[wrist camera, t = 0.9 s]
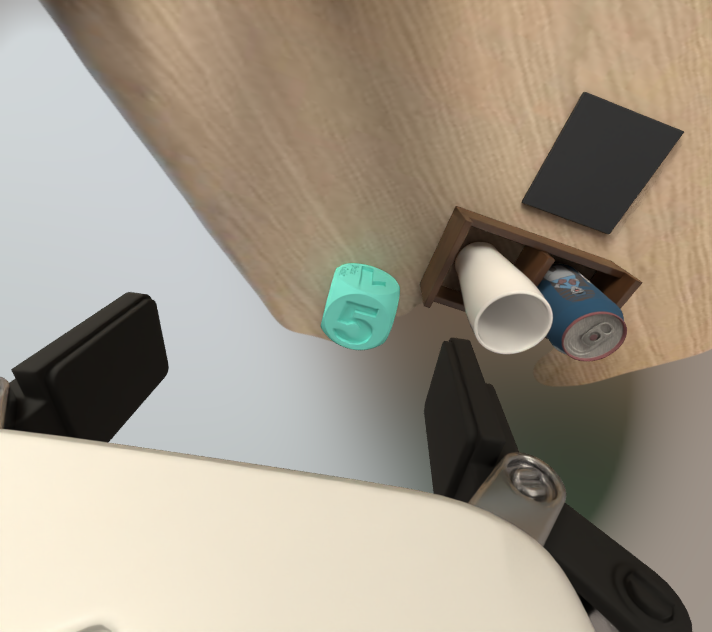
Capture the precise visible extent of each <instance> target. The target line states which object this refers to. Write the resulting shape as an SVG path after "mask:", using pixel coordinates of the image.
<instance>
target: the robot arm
mask: <svg viewBox="0 0 712 632" xmlns="http://www.w3.org/2000/svg"><path fill="white" fill-rule="evenodd" d="M168 368H169V367H168V360H167V356H166V350H165V345H164V340H163V335H162V330H161V325H160V320H159V315H158V310H157V305H156V303H155V301H154V300H152V299H151V297H150V296H149V295H147V294H140V293H132V292H128V293H125V294H124V295H122V296H121V297H119V298H118V299H116V300H115V301H113V302H112V303H110V304H109V305H108V306H106V307H104V308H103V309H101V310H100V311H98V312H97V313H95V314H94V315H92V316H91V317H89V318H88V319H86V320H85V321H83V322H82V323H80V324H79V325H77V326H76V327H74V328H73V329H71V330H70V331H68V332H67V333H65V334H64V335H62V336H61V337H59V338H58V339H56V340H55V341H53V342H52V343H50V344H49V345H47V346H46V347H45V348H43V349H41V350H40V351H38V352H37V353H35V354H34V355H32V356H31V357H29V358H28V359H26V360H25V361H23V362H22V363H20V364H19V365H17V366H16V367H14V368H13V369H12V372H13V374H14V376H15V378H16V379H14V380H13V381H12V382H10V383H9V382H8V381H7V380H6V379H4V378H3V377H0V632H692V623H691V620H690V617H689V615H688V612H687V610H686V608H685V606H684V605H683V603H682V601H681V600H680V598H679V597H678V595H677V594H676V593H675V591H674V590H673V589H672V588H671V587H670V586H669V584H668V583H667V582H666V581H665V580H663V579H662V578H661V577H660V576H659V575H658V574H657V573H656V572H654V571H653V570H652V569H651V568H649V567H648V566H647V565H645V564H644V563H643V562H641V561H640V560H639V559H638V558H636V557H635V556H633V555H632V554H631V553H630V552H628V551H627V550H626V549H625V548H623V547H622V546H621V545H619V544H618V543H617V542H616V541H614V540H613V539H611V538H610V537H609V536H608V535H606V534H605V533H604V532H603V531H601V530H600V529H599V528H597V527H596V526H595V525H593V524H592V523H591V522H589V521H588V520H587V519H586V518H584V517H583V516H582V515H580V514H579V513H578V512H577V511H575V510H574V509H573V508H571V507H570V506H569V505H567V504H566V503H565V499H566V490H565V486H564V484H563V482H562V480H561V479H560V477H559V476H558V474H557V473H556V472H555V471H554V470H553V469H552V468H551V467H550V466H549V465H547V464H546V463H545V462H544V461H542V460H540V459H538V458H536V457H534V456H532V455H529V454H526V453H519V451H518V448H517V445H516V443H515V440H514V438H513V435H512V433H511V430H510V427H509V425H508V423H507V420H506V417H505V415H504V412H503V410H502V407H501V404H500V402H499V399H498V397H497V394H496V391H495V389H494V387H493V386H492V385H491V384H487V383H485V381H484V378H483V376H482V373H481V370H480V367H479V365H478V362H477V359H476V356H475V354H474V351H473V348H472V345H471V342H470V341H469V340H465V339H458V338H450V340H449V342H448V341H444V342H443V344H442V347H441V351H440V354H439V357H438V361H437V364H436V367H435V371H434V374H433V378H432V381H431V385H430V388H429V392H428V395H427V399H426V402H425V409H424V415H425V424H426V432H427V441H428V449H429V457H430V466H431V474H432V482H433V491H434V494H432V493H427V492H423V491H418V490H413V489H408V488H402V487H396V486H390V485H384V484H378V483H373V482H367V481H361V480H355V479H348V478H342V477H335V476H329V475H323V474H316V473H309V472H303V471H296V470H290V469H284V468H277V467H271V466H263V465H257V464H251V463H244V462H237V461H231V460H224V459H217V458H211V457H204V456H197V455H190V454H183V453H177V452H170V451H163V450H156V449H149V448H142V447H135V446H128V445H121V444H114V443H108V442H109V441H110V440H111V439H112V438H113V436H114V435H115V434H116V433H117V432H118V431H119V430H120V428H121V427H122V426H123V425H124V424H125V423H126V421H127V420H128V419H129V418H130V417H131V416H132V414H133V413H134V412H135V411H136V410H137V409H138V408H139V406H140V405H141V404H142V403H143V402H144V400H146V398H147V397H148V396H149V395H150V394H151V392H152V391H153V390H154V389H155V388H156V387H157V386H158V385H159V383H160V382H161V381H162V380H163V379H164V378H165V376H166V375H167V373H168Z"/></svg>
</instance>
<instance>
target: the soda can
mask: <svg viewBox="0 0 712 632" xmlns="http://www.w3.org/2000/svg"><path fill="white" fill-rule="evenodd" d="M537 288H538V289H539V290H540V292H541V293H542V294H543V296H544V297H545V299H546V300H547V302H548V303H549V305H550V307H551V309H552V313H553V321H552V325H551V328H550V330H549V332H548V333H547V335H546V336H547V338H548V339H549V341H550V342H551V343H552V345H553V346H554V347H555V348H556V349H557V350H558V351H560V352H562V353H564V354H567V355H568V356H570V357H571V358H573V359H576V360H579V361H595V360H599V359H602V358H605V357H607V356H609V355H610V354H612V353H613V352H615V351H616V350H617V349H618V348H619V347H620V346H621V345H622V343H623V342H624V340H625V338H626V335H627V327H626V324H625V322H624V317H623V313H622V311H621V309H620V308H619V307H618V306H617V305H616V304H615V303H614V302H612V301H611V300H610V299H609V298H608V297H607V296H606V295H604V294H603V293H602V292H601V291H600V290H599V289H598V288H596V287H595V286H594V285H593V284H592V283H591V282H590V281H588V280H587V279H586V278H585V277H584V276H583V275H582V274H580V273H579V272H578V271H577V270H576V269H575V268H573V267H571V266H569V265H566V264H559V263H557V264H552V265H551V267H550V268H549V270H548V271H547V273H546V274H545V276H544V277H543V279H542V280H541V282H540V283H539V285H538V286H537Z"/></svg>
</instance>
